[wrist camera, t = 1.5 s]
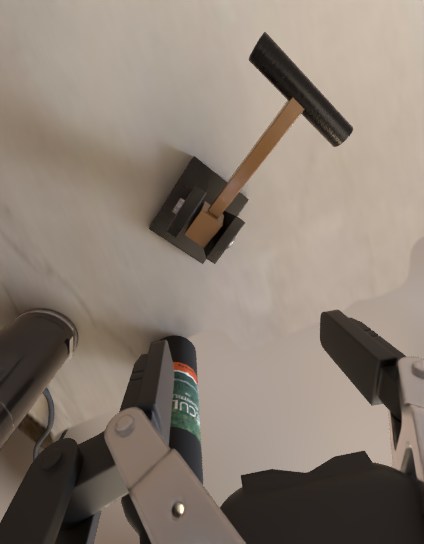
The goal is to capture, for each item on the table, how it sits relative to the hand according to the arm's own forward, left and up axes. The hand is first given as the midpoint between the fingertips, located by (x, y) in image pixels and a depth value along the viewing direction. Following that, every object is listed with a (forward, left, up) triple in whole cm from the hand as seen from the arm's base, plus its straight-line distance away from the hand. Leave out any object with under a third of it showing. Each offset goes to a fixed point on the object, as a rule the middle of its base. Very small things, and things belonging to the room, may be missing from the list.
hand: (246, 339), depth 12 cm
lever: (+8, +4, -10) cm, 14 cm away
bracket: (+3, +4, -23) cm, 24 cm away
